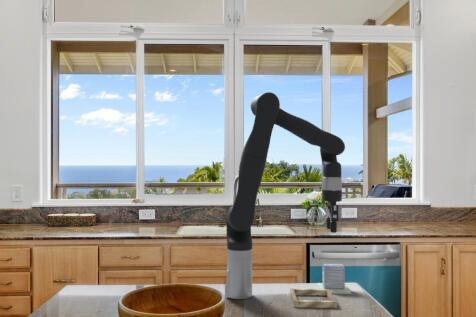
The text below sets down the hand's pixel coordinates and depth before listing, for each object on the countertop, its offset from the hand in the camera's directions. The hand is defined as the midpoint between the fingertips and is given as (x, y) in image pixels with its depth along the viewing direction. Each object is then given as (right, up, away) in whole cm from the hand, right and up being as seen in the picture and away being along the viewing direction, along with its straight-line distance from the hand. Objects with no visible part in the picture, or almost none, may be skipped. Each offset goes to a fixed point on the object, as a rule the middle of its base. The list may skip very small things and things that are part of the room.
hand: (331, 230), depth 161 cm
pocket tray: (-10, -22, -14) cm, 28 cm away
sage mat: (+1, -23, -1) cm, 23 cm away
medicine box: (+1, -22, -1) cm, 22 cm away
